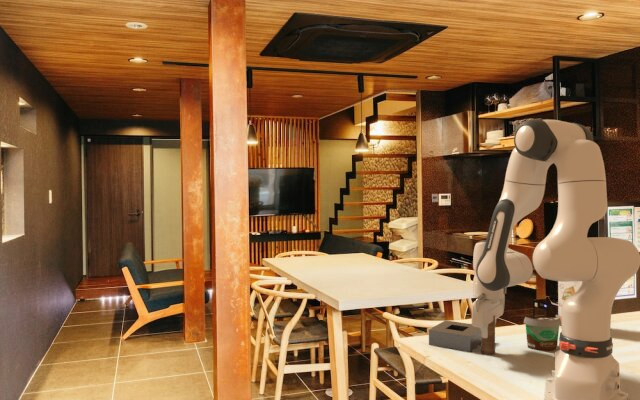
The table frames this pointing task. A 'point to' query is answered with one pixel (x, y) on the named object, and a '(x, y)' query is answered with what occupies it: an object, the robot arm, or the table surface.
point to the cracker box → (566, 293)
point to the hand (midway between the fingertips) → (488, 335)
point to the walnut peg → (489, 340)
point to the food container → (542, 333)
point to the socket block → (455, 336)
